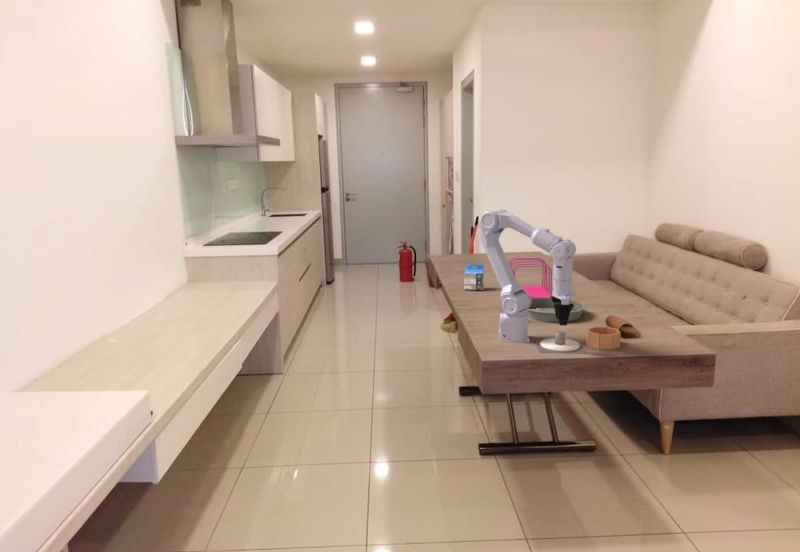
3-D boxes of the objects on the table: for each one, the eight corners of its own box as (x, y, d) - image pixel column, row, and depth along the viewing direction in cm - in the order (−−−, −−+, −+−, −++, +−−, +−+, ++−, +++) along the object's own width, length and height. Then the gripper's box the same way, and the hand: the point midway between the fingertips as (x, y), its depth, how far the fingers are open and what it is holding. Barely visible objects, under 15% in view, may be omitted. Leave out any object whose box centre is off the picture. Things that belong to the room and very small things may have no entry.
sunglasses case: (644, 338, 183) (633, 321, 182) (624, 348, 184) (614, 331, 183) (629, 323, 200) (620, 308, 200) (611, 333, 202) (602, 317, 201)
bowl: (589, 350, 173) (590, 334, 172) (584, 341, 182) (584, 326, 181) (622, 351, 171) (622, 335, 170) (615, 341, 180) (615, 326, 180)
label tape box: (464, 290, 264) (463, 265, 262) (465, 288, 268) (465, 263, 265) (482, 291, 261) (482, 265, 259) (484, 289, 265) (483, 264, 262)
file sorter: (512, 301, 240) (512, 265, 237) (506, 289, 265) (507, 256, 262) (553, 301, 238) (554, 265, 236) (544, 288, 263) (544, 256, 260)
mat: (539, 354, 171) (539, 352, 170) (535, 340, 184) (535, 339, 184) (586, 355, 168) (586, 353, 168) (579, 341, 182) (579, 339, 182)
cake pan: (521, 323, 206) (521, 312, 205) (517, 307, 230) (517, 297, 229) (590, 324, 202) (591, 312, 201) (579, 307, 226) (579, 297, 225)
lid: (542, 351, 171) (542, 338, 170) (538, 340, 183) (538, 327, 182) (582, 352, 169) (583, 338, 169) (576, 340, 181) (576, 327, 180)
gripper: (579, 284, 165) (578, 328, 167) (572, 274, 179) (571, 315, 181) (555, 284, 166) (554, 328, 168) (549, 274, 180) (548, 315, 182)
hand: (561, 321), depth 175 cm, fingers open, 7 cm apart
